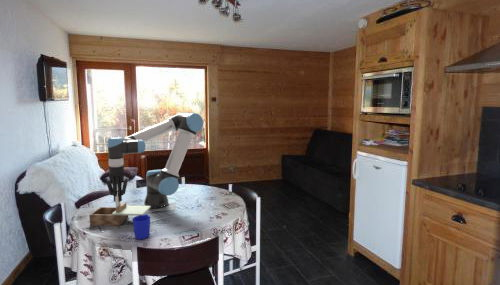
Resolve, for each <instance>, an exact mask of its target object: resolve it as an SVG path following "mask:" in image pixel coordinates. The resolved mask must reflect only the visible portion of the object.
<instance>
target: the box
mask: <svg viewBox="0 0 500 285" xmlns="http://www.w3.org/2000/svg"><path fill="white" fill-rule="evenodd" d="M114 211H116V206H114V207H113V206H111V207H110V206H109V207H108V206H106V207H105V206H101V207H99V208H97V209H96V210H94V211H93V212H91V213H90V214H89V225H90V226H97V225H100V226H101V227H102V226H105V227H106V226H107V227H110V226H111V227H113V226H114V227H119V226H121V225H122V224H123V223H124V222H126V220H128V218H129V217H130V216H129V215H112V213H113V212H114ZM100 226H99V227H100Z"/></svg>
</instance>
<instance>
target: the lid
mask: <svg viewBox="0 0 500 285" xmlns="http://www.w3.org/2000/svg"><path fill="white" fill-rule="evenodd" d="M115 207H116V206H115ZM150 209H152V208H151V206H144V205H127V202H121V203H120V205H119V206H118V207H116V211H114V212H113V213H112V215H128V216H139V215H145V214H147V213H148V210H150Z"/></svg>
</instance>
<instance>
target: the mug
mask: <svg viewBox="0 0 500 285" xmlns="http://www.w3.org/2000/svg"><path fill="white" fill-rule="evenodd" d="M132 225H133V234H134V238H135V239H136V240H145V239H147V238H149V236H150V230H151V229H150V228H151V216H150V215H149V214H148V213H145V214H144V215H139V216H137V215H135V216H133V217H132Z"/></svg>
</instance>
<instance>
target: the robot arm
mask: <svg viewBox="0 0 500 285" xmlns="http://www.w3.org/2000/svg"><path fill="white" fill-rule="evenodd" d="M203 126H204V120H203V117H202V116H201V115H200V114H199V113H196V112H192V111H191V112H185V111H182V112H179V113H177V114H174V115H172V116H170V117H168V118H167V119H166V120H164V121H162V122H159V123H157V124H154V125H152V126H150V127H147V128H144V129H143V130H140V131H138V132H136V133H133V134H131V135H128V136H122V137H121V136H117V137H109V138H108V139H107V152H108V153H107V154H108V173H109V175H108V176H107V177H105V178H104V181H105V183H106V185H107V188H108V191H109V192H108V193H109V195H110V196H113V202H114V203H115V207H118V206H119V205H120V204H121V203H122V201H123V198H122V197H123V195H125V194H126V190H127V185H128V183H129V181H130V177H127V176H126V175H125V166H124V155H130V154H140V153H144V152H145V151H146V143H147V142H150V141H151V140H154V139H156V138H159V137H161V136H163V135H166V134H169V133H170V132H177V131H178V132H179V133H178V135H177V137H176V140H175V142H174V145H173V148H172V149H171V153H170V154H169V156H168V159H167V161H166V164H165V167H164V168H162V169H152V170H147V172H146V175H145V177H146V180H145V181H146V195H145V199H144V205H143V206H151V208H150V209H156V208H155V207H161V206H164V205H167V204H168V205H169V198H168V196H171V195H173V194H175V193H176V192H177V191H178V189H179V187H180V183H179V178H180V174H179V171H180V169H181V167H182V163H183V162H184V160H185V156H186V154H187V152H188V149H189V147H190V144H191V142H192V140H193V138H194V137H196V136H197V133H198V132H200V131H201V130H202V129H203ZM168 205H167V206H168ZM164 207H165V206H164ZM161 208H162V207H161Z"/></svg>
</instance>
